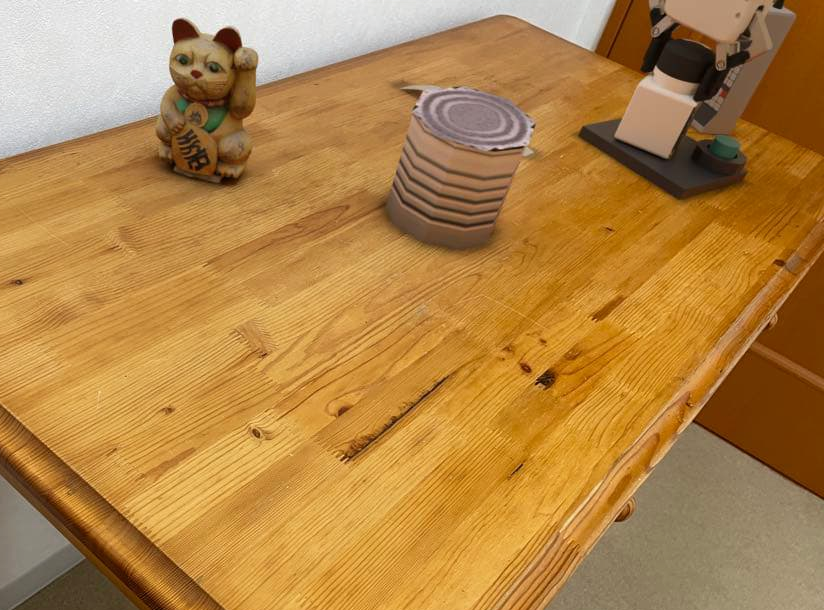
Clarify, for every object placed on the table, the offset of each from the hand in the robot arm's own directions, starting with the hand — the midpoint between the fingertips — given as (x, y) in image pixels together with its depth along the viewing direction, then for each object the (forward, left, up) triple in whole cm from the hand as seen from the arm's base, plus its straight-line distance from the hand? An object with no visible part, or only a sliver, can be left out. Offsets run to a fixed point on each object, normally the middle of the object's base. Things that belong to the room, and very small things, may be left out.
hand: (675, 84), depth 102 cm
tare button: (-7, -5, -6) cm, 11 cm away
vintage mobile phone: (+2, -18, -10) cm, 21 cm away
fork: (+14, +19, -10) cm, 25 cm away
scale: (-2, -1, -9) cm, 10 cm away
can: (-3, +39, -10) cm, 40 cm away
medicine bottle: (0, 0, -8) cm, 8 cm away
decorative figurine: (+14, +57, -10) cm, 59 cm away
